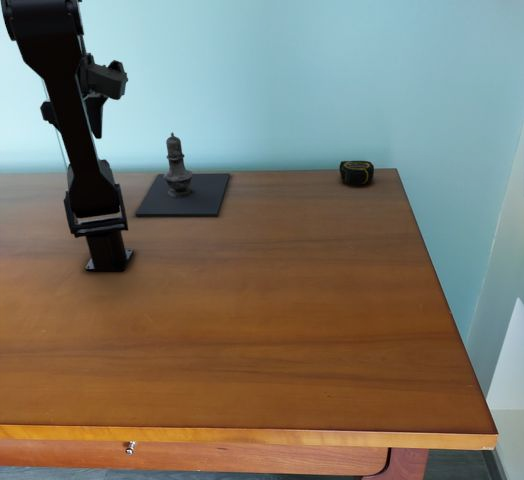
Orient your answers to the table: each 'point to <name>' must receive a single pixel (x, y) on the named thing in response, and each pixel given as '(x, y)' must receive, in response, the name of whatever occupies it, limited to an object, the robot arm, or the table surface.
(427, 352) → the table surface
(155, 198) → the mat
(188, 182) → the salt shaker
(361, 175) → the tape measure
